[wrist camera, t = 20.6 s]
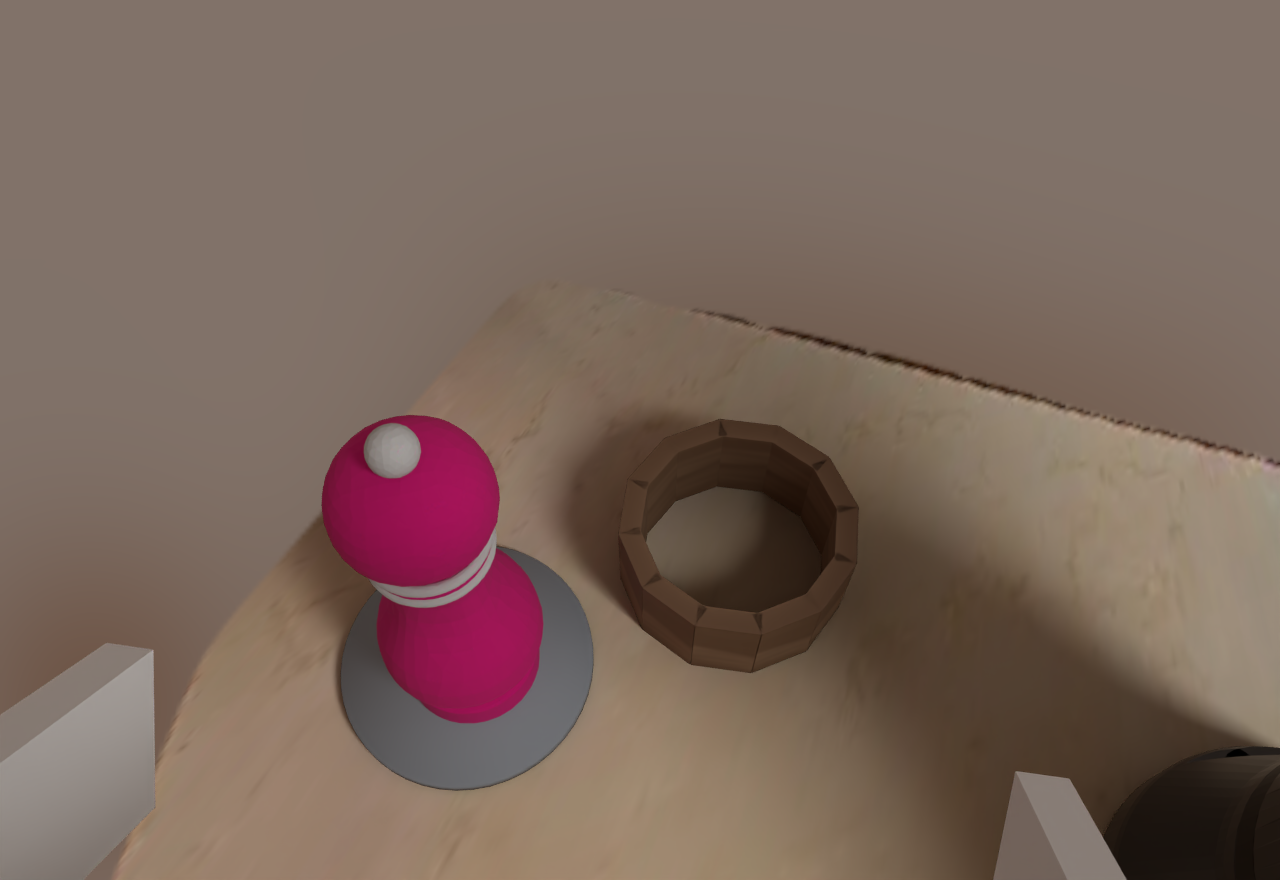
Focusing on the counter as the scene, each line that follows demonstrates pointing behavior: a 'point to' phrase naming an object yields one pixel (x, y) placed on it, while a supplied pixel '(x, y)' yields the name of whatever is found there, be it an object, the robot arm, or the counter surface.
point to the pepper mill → (436, 565)
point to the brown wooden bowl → (747, 464)
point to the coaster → (472, 749)
